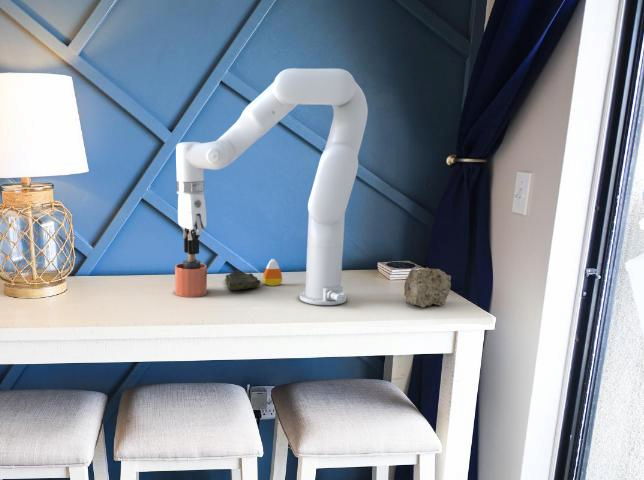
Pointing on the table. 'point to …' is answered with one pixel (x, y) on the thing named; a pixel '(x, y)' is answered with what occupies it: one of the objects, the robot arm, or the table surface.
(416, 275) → the rock
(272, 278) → the candy corn
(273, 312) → the table surface
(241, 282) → the stone
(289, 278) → the table surface
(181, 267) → the tumbler
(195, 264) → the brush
